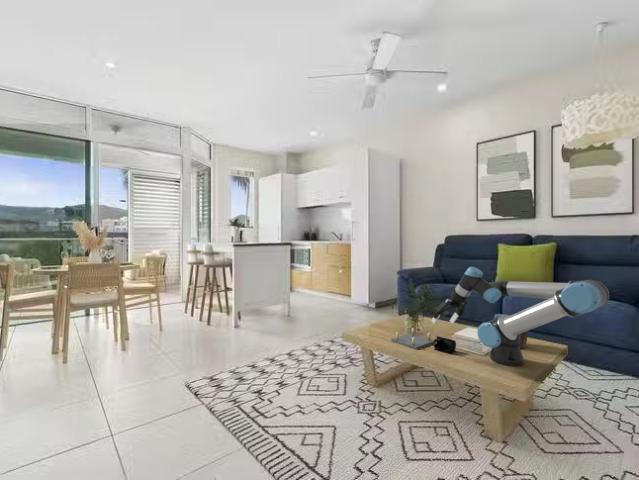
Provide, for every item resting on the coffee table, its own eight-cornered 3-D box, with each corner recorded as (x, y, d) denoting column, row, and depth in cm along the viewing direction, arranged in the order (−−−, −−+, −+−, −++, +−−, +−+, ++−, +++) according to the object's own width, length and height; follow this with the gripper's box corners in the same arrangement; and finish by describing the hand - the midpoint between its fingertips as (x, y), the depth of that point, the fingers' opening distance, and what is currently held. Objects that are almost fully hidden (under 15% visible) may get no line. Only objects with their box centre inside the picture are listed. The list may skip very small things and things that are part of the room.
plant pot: (523, 352, 182) (524, 323, 181) (493, 344, 194) (493, 317, 194) (534, 346, 192) (535, 318, 191) (504, 338, 204) (505, 312, 204)
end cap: (456, 351, 183) (456, 339, 183) (450, 354, 178) (450, 342, 178) (439, 346, 191) (439, 335, 190) (433, 349, 186) (433, 337, 185)
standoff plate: (435, 343, 196) (435, 334, 196) (416, 349, 185) (416, 339, 185) (410, 335, 211) (410, 326, 210) (391, 341, 200) (391, 332, 200)
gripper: (473, 289, 184) (454, 317, 193) (439, 287, 173) (421, 317, 183) (482, 298, 178) (462, 327, 187) (448, 296, 167) (429, 327, 177)
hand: (442, 322), depth 185 cm, fingers open, 13 cm apart
